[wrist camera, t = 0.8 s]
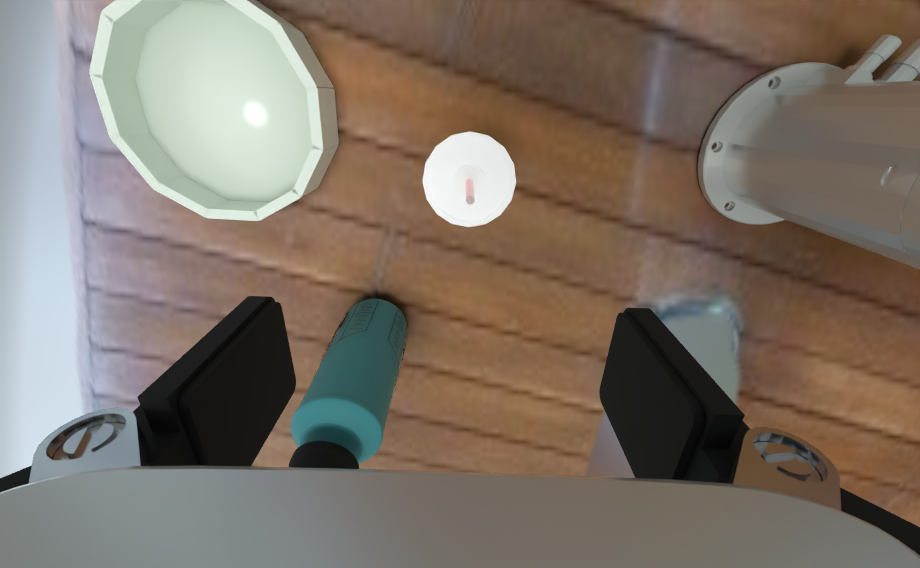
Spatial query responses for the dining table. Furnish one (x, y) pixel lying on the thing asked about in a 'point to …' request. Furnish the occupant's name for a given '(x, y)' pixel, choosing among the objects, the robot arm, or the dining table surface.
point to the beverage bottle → (351, 390)
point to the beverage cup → (469, 179)
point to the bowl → (215, 103)
